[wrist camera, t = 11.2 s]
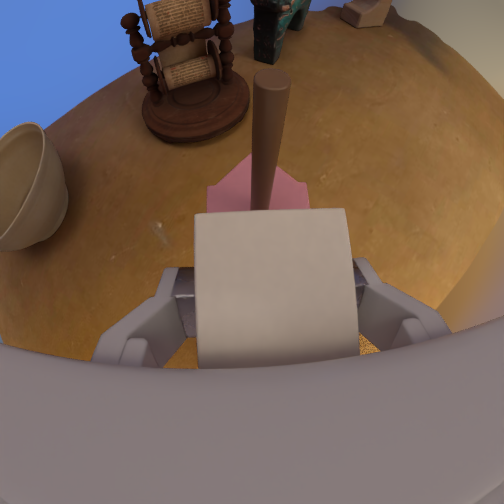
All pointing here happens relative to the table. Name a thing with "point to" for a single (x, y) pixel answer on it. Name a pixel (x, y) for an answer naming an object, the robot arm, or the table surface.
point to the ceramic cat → (275, 25)
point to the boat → (271, 259)
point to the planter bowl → (29, 187)
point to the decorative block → (365, 12)
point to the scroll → (187, 69)
